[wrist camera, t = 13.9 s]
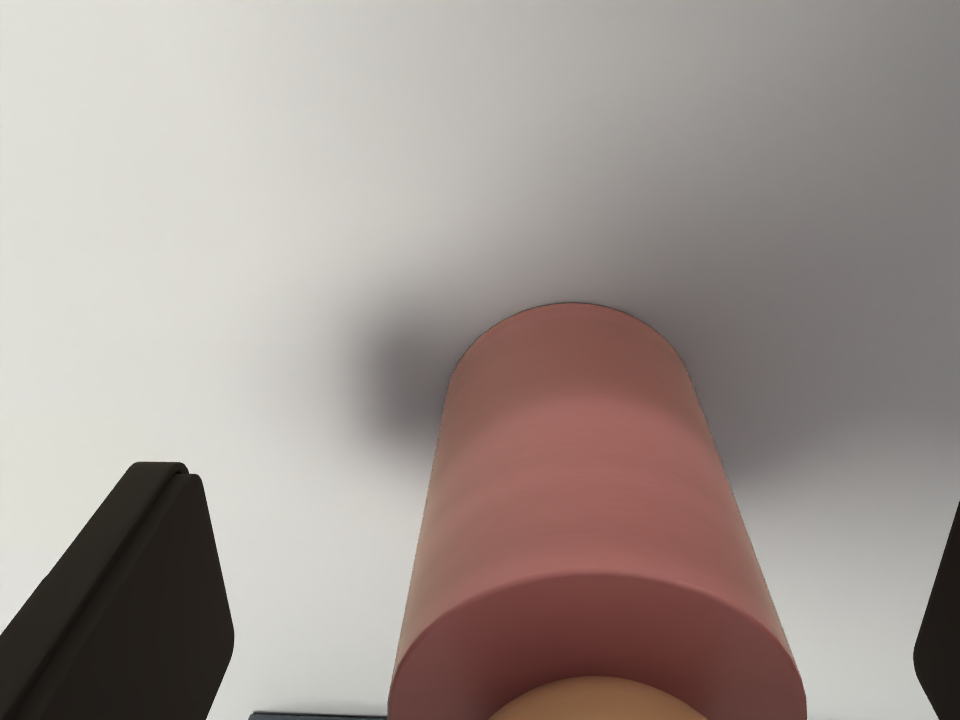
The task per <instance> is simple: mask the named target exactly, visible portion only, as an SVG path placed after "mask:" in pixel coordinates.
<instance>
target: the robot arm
mask: <svg viewBox="0 0 960 720" xmlns="http://www.w3.org/2000/svg"><path fill="white" fill-rule="evenodd" d="M233 648H234V628H233V623H232V618H231V614H230V609H229V604H228V600H227V595H226V590H225V586H224V581H223V576H222V572H221V567H220V562H219V557H218V553H217V548H216V543H215V539H214V534H213V529H212V525H211V520H210V515H209V511H208V506H207V501H206V497H205V492H204V487H203V483H202V480H201V478H200V477H199V475H197V474H189V471H188V469H187V467H186V466H185V464H183V463H181V462H136V463H134V464H133V465H131V466H130V467H129V469H128V470H127V471H126V473H125V474H124V475H123V476H122V478H121V479H120V480H119V482H118V483H117V484H116V486H115V487H114V488H113V490H112V491H111V492H110V494H109V495H108V496H107V498H106V499H105V500H104V501H103V503H102V504H101V505H100V507H99V508H98V509H97V511H96V512H95V513H94V515H93V516H92V517H91V519H90V520H89V521H88V523H87V524H86V525H85V527H84V528H83V529H82V530H81V532H80V533H79V534H78V536H77V537H76V538H75V540H74V541H73V542H72V544H71V545H70V546H69V548H68V549H67V550H66V552H65V553H64V554H63V556H62V557H61V558H60V559H59V561H58V562H57V563H56V565H55V566H54V567H53V569H52V570H51V571H50V573H49V574H48V575H47V576H46V577H45V578H44V579H43V580H42V582H41V583H40V584H39V585H38V587H37V588H36V589H35V591H34V592H33V593H32V595H31V596H30V597H29V599H28V600H27V601H26V603H25V604H24V605H23V606H22V608H21V609H20V610H19V612H18V613H17V614H16V616H15V617H14V618H13V620H12V621H11V622H10V624H9V625H8V626H7V628H6V629H5V630H4V631H3V633H2V634H1V635H0V720H206V718H207V715H208V713H209V711H210V708H211V706H212V703H213V701H214V699H215V696H216V694H217V691H218V689H219V687H220V684H221V682H222V679H223V677H224V674H225V672H226V670H227V667H228V665H229V662H230V660H231V657H232V653H233ZM913 660H914V668H915V672H916V675H917V678H918V680H919V682H920V684H921V686H922V688H923V690H924V692H925V693H926V695H927V697H928V699H929V701H930V703H931V705H932V707H933V709H934V711H935V712H936V714H937V716H938V718H939V720H960V501H959V505H958V508H957V511H956V514H955V517H954V521H953V524H952V527H951V530H950V534H949V537H948V540H947V543H946V547H945V550H944V553H943V556H942V559H941V563H940V566H939V569H938V572H937V576H936V579H935V582H934V585H933V588H932V592H931V595H930V598H929V601H928V605H927V608H926V611H925V614H924V617H923V621H922V624H921V627H920V630H919V634H918V637H917V640H916V643H915V647H914V652H913Z"/></svg>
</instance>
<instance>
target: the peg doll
mask: <svg viewBox="0 0 960 720" xmlns="http://www.w3.org/2000/svg"><path fill="white" fill-rule="evenodd" d="M388 720H807V706H806V695H805V691H804V687H803V683H802V679H801V676H800V673H799V671H798V668H797V665H796V663H795V660H794V657H793V655H792V652H791V649H790V646H789V644H788V641H787V638H786V636H785V633H784V630H783V627H782V625H781V622H780V619H779V617H778V614H777V611H776V608H775V606H774V603H773V600H772V598H771V595H770V592H769V590H768V587H767V584H766V581H765V579H764V576H763V573H762V571H761V568H760V565H759V562H758V560H757V557H756V554H755V552H754V549H753V546H752V544H751V541H750V538H749V535H748V533H747V530H746V527H745V525H744V522H743V519H742V516H741V514H740V511H739V508H738V506H737V503H736V500H735V498H734V495H733V492H732V489H731V487H730V484H729V481H728V479H727V476H726V473H725V470H724V468H723V465H722V462H721V460H720V457H719V454H718V451H717V449H716V446H715V443H714V441H713V438H712V435H711V433H710V430H709V427H708V424H707V422H706V419H705V416H704V414H703V411H702V408H701V405H700V403H699V400H698V397H697V395H696V392H695V389H694V387H693V384H692V381H691V378H690V376H689V374H688V372H687V369H686V367H685V365H684V363H683V362H682V360H681V358H680V357H679V355H678V354H677V352H676V351H675V350H674V349H673V347H672V346H671V345H670V344H669V343H668V342H667V341H666V339H664V338H663V337H662V336H661V335H660V334H659V333H657V332H656V331H655V330H654V329H653V328H651V327H650V326H648V325H646V324H645V323H643V322H642V321H640V320H638V319H636V318H634V317H632V316H630V315H628V314H626V313H623V312H620V311H617V310H614V309H611V308H608V307H603V306H598V305H592V304H581V303H562V304H552V305H546V306H540V307H536V308H533V309H530V310H526V311H523V312H520V313H518V314H516V315H514V316H511V317H509V318H507V319H505V320H503V321H502V322H500V323H498V324H497V325H495V326H493V327H492V328H490V329H489V330H488V331H487V332H485V333H484V334H483V335H482V336H480V337H479V338H478V339H477V340H476V341H475V342H474V343H473V344H472V345H471V346H470V347H469V349H468V350H467V351H466V353H465V354H464V355H463V357H462V358H461V359H460V361H459V363H458V364H457V366H456V368H455V370H454V372H453V374H452V377H451V379H450V382H449V385H448V388H447V393H446V398H445V404H444V409H443V414H442V419H441V424H440V430H439V435H438V440H437V445H436V451H435V456H434V461H433V466H432V472H431V477H430V482H429V487H428V492H427V498H426V503H425V508H424V513H423V519H422V524H421V529H420V534H419V539H418V545H417V550H416V555H415V560H414V566H413V571H412V576H411V581H410V587H409V592H408V597H407V602H406V607H405V613H404V618H403V623H402V628H401V634H400V639H399V644H398V649H397V655H396V660H395V665H394V670H393V675H392V681H391V686H390V691H389V697H388Z"/></svg>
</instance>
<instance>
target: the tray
mask: <svg viewBox="0 0 960 720" xmlns="http://www.w3.org/2000/svg"><path fill="white" fill-rule="evenodd" d="M248 720H388V719H376V718H348V717H320V716H292V715H263V714H251V715H250V717H249V719H248Z"/></svg>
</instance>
